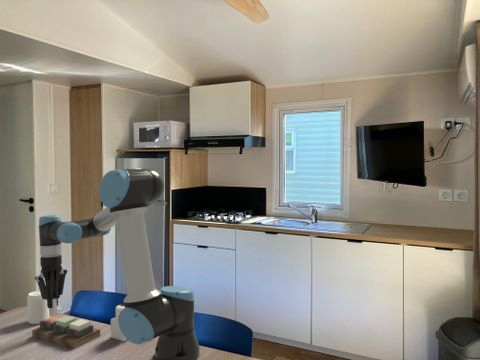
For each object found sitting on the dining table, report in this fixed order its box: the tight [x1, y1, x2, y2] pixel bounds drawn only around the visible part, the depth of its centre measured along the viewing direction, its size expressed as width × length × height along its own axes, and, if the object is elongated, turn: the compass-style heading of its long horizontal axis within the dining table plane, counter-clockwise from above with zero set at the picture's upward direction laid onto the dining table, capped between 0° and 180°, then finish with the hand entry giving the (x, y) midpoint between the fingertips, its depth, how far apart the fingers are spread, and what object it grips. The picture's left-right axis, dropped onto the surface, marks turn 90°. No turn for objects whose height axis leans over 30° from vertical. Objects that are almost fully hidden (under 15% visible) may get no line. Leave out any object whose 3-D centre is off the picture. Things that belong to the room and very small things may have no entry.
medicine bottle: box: [110, 303, 128, 342], centre depth 153 cm, size 7×7×12 cm
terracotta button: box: [43, 315, 61, 324], centre depth 156 cm, size 5×5×2 cm
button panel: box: [31, 315, 101, 350], centre depth 153 cm, size 23×12×5 cm, turn 62°
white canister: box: [26, 290, 50, 325], centre depth 168 cm, size 8×8×12 cm
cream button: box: [69, 318, 91, 331], centre depth 149 cm, size 5×5×2 cm
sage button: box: [56, 315, 77, 327], centre depth 153 cm, size 5×5×2 cm
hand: (53, 315), depth 156 cm, fingers closed
